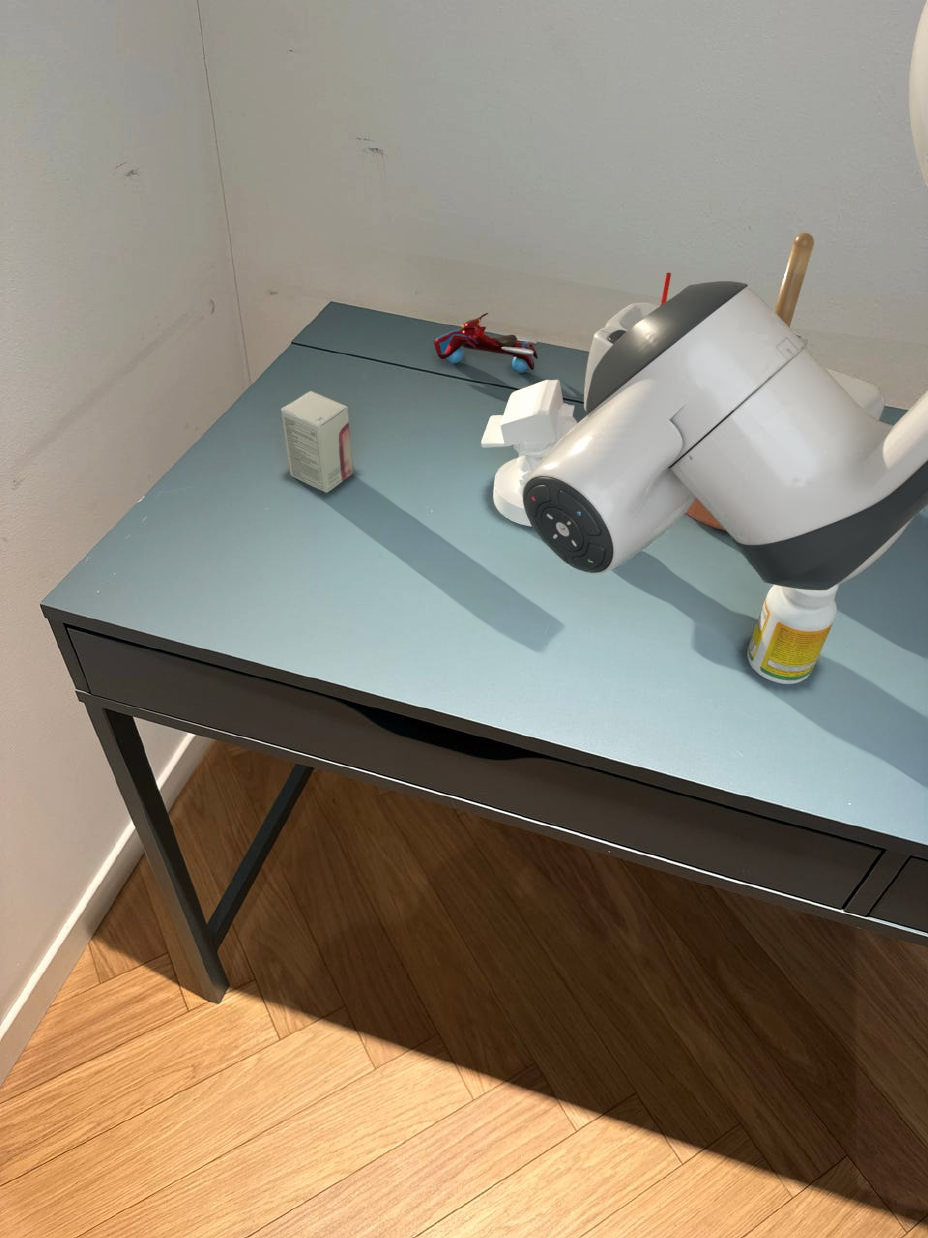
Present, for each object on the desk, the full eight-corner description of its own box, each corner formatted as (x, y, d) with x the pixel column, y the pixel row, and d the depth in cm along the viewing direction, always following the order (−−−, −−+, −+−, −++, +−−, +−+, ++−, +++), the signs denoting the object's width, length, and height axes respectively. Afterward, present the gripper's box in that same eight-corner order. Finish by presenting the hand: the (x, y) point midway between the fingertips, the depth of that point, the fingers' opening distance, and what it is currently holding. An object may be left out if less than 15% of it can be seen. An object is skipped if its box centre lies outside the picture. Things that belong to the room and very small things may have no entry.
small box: (355, 473, 96) (350, 406, 91) (326, 495, 94) (319, 426, 88) (317, 455, 98) (310, 388, 93) (288, 475, 96) (279, 407, 90)
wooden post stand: (785, 447, 81) (854, 230, 68) (762, 478, 77) (830, 256, 64) (726, 427, 83) (783, 211, 69) (702, 456, 79) (757, 236, 66)
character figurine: (572, 533, 91) (586, 425, 82) (474, 517, 92) (478, 409, 84) (584, 478, 97) (599, 372, 88) (492, 464, 98) (498, 359, 90)
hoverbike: (439, 347, 114) (439, 303, 110) (538, 362, 112) (542, 317, 108) (428, 369, 111) (428, 324, 107) (530, 385, 109) (534, 340, 105)
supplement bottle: (733, 650, 80) (761, 565, 74) (783, 631, 82) (815, 546, 75) (774, 695, 77) (807, 610, 70) (826, 674, 79) (863, 589, 72)
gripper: (852, 433, 59) (929, 346, 67) (574, 324, 68) (672, 259, 75) (822, 513, 63) (898, 423, 71) (565, 402, 72) (658, 332, 80)
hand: (780, 338), depth 73 cm, fingers closed on wooden post stand
